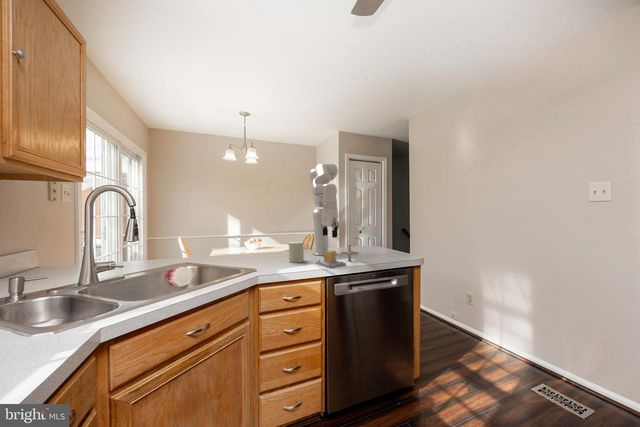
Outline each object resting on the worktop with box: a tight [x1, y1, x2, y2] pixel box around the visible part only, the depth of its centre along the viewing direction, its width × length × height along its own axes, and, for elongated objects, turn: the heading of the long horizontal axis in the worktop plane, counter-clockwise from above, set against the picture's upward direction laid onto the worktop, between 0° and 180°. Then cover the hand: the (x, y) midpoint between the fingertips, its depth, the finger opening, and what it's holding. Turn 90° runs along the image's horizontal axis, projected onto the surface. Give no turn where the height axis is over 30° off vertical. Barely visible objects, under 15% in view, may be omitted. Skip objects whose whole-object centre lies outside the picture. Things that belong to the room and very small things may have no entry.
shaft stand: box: [315, 250, 347, 269], centre depth 153 cm, size 14×11×8 cm
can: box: [288, 240, 305, 263], centre depth 166 cm, size 9×9×12 cm
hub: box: [323, 250, 337, 263], centre depth 154 cm, size 6×6×6 cm
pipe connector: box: [340, 244, 359, 262], centre depth 163 cm, size 10×10×10 cm
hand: (329, 236), depth 154 cm, fingers open, 9 cm apart
